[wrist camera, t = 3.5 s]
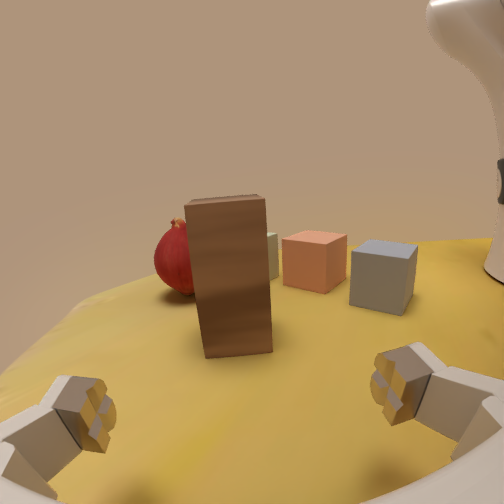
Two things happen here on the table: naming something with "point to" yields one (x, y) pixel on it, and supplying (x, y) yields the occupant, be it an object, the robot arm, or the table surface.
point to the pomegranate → (175, 258)
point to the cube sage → (273, 255)
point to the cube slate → (383, 276)
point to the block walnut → (231, 274)
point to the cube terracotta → (314, 260)
